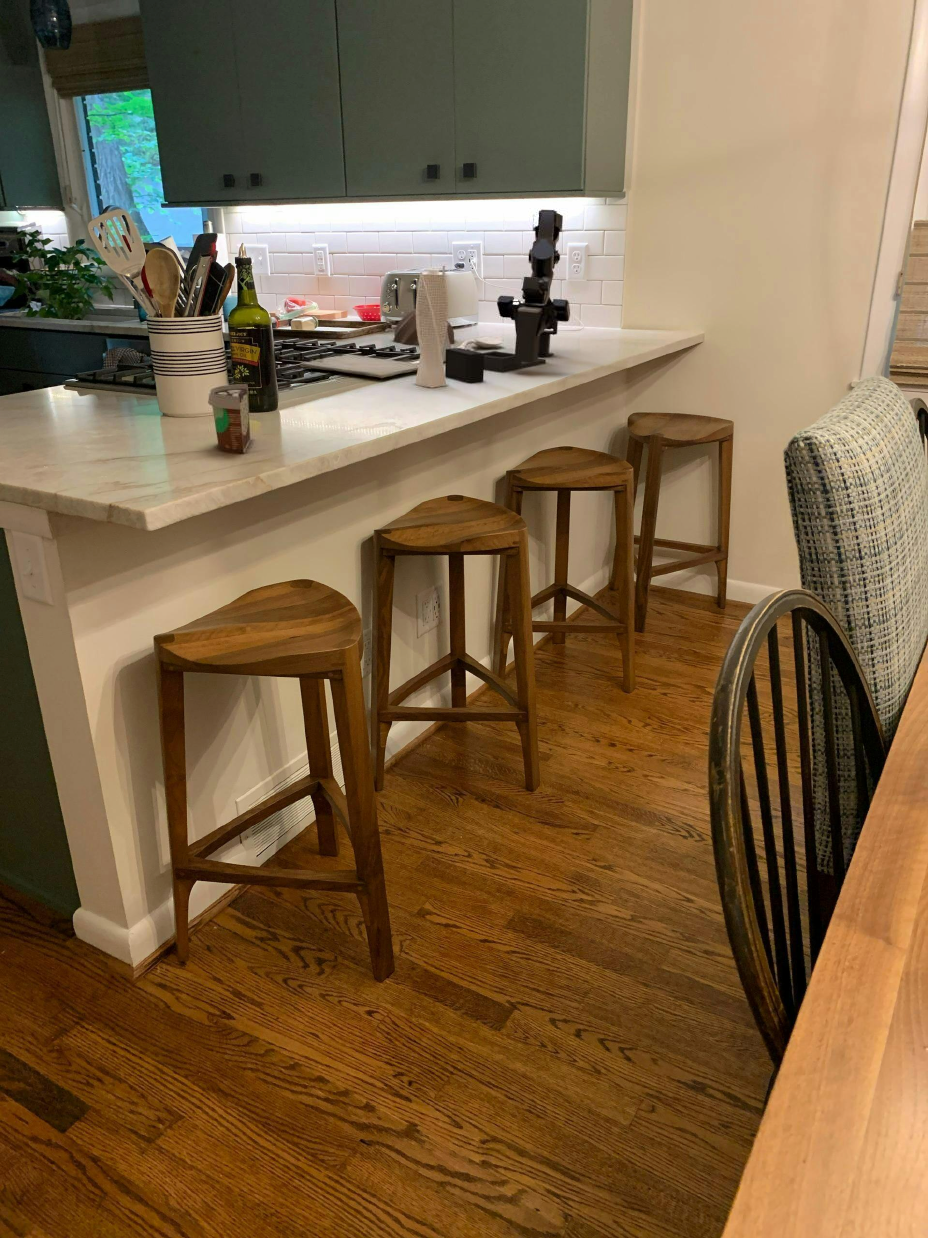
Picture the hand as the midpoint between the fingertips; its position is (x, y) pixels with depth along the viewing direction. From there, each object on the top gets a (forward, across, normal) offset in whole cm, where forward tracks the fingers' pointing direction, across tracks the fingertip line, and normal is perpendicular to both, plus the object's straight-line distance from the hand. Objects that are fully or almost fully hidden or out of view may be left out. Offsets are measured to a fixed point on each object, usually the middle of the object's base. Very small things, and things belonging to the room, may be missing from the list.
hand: (526, 334), depth 240 cm
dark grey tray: (-2, -10, +16) cm, 19 cm away
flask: (0, -27, +15) cm, 31 cm away
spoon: (-15, -24, +30) cm, 41 cm away
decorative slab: (+17, -39, -3) cm, 43 cm away
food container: (+77, -29, -63) cm, 103 cm away
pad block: (+4, 0, +6) cm, 7 cm away
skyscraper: (+25, -17, -11) cm, 32 cm away
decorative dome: (-24, -44, +39) cm, 63 cm away
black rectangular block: (+17, -12, -3) cm, 21 cm away
